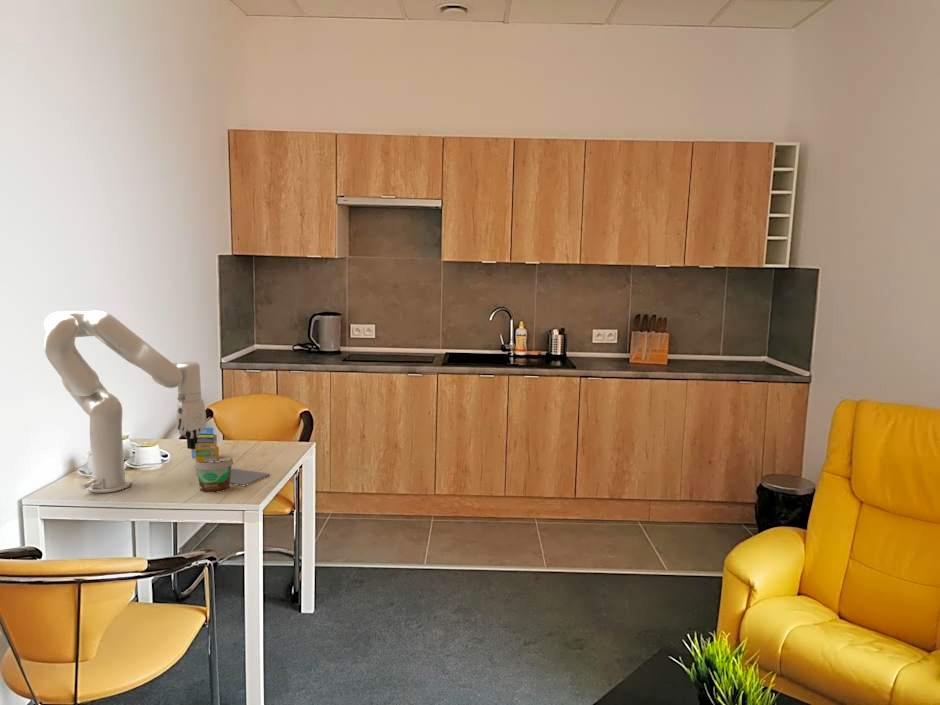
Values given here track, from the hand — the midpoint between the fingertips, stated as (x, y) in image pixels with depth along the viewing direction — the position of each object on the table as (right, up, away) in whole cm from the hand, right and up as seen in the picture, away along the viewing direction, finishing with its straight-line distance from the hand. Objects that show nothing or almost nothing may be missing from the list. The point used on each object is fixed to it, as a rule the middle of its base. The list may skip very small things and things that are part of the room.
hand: (192, 448), depth 264 cm
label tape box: (-2, -6, +19) cm, 20 cm away
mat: (+18, -10, -5) cm, 21 cm away
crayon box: (+6, -9, -1) cm, 11 cm away
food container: (+14, -12, -19) cm, 26 cm away
